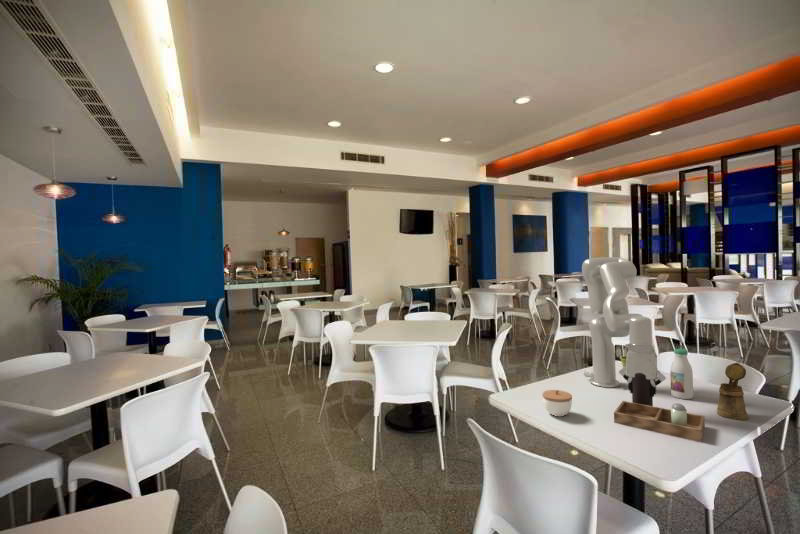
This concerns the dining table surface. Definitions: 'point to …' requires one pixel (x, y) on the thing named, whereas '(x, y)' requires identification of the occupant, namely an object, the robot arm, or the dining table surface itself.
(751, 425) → the dining table surface
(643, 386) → the vinegar
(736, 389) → the burlap money sack
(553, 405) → the lidded jar
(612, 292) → the robot arm
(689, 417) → the caddy
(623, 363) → the plant pot
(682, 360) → the milk bottle
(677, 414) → the shaker
